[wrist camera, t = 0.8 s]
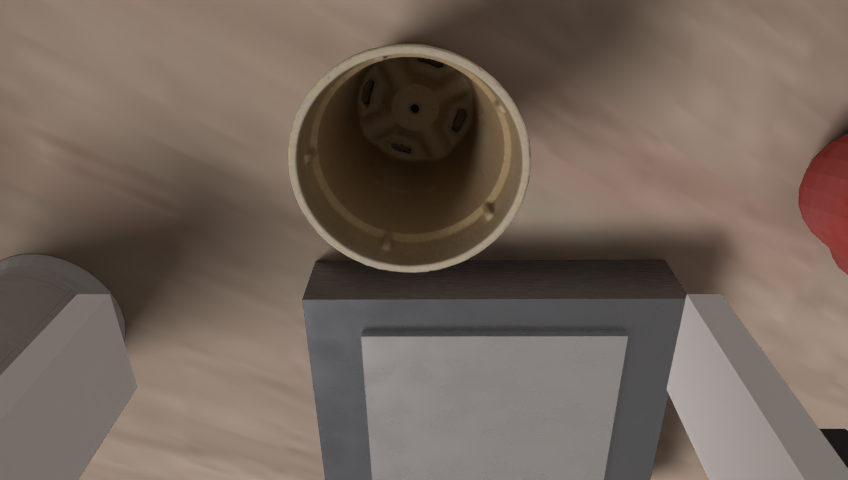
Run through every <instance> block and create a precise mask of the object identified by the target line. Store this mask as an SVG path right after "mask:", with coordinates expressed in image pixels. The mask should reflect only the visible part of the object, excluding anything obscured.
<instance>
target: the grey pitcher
mask: <svg viewBox="0 0 848 480" xmlns="http://www.w3.org/2000/svg"><path fill="white" fill-rule="evenodd" d="M77 294H110V297H111V300H112V303H113V307H114V310H115V313H116V317H117V320H118V323H119V327H120V330H121V334H122V337H123V340H124V339H125V331H126V330H125V320H124V317H123V314H122V310H121V308H120V306H119V304H118V303H117V301H116V299H115V298H114V296H113V295H112V294H111V292H110V291H109V290H108V289H107V288H106V287H105V286H104V285H103V284H102V283H101V282H100V281H99V280H98V279H97V278H96V277H94V276H93V275H92V274H90V273H89V272H88V271H86V270H84V269H82V268H81V267H79V266H77V265H75V264H73V263H70V262H68V261H66V260H63V259H60V258H56V257H52V256H48V255H40V254H22V255H17V256H12V257H9V258H6V259H4V260H1V261H0V375H1V374H2V373H3V372H4V371H5V370H6V369H7V368H8V367H9V366H10V365H11V364H12V362H13V361H14V360H15V359H16V358H17V357H18V356H19V355H20V354H21V353H22V352H23V351H24V350H25V349H26V348H27V347H28V346H29V344H30V343H31V342H32V341H33V340H34V339H35V338H36V337H37V336H38V335H39V334H40V333H41V332H42V331H43V330H44V329H45V328H46V327H47V325H48V324H49V323H50V322H51V321H52V320H53V319H54V318H55V317H56V316H57V315H58V314H59V313H60V312H61V311H62V310H63V309H64V308H65V306H66V305H67V304H68V303H69V302H70V301H71V300H72V299H73V298H74V297H75V296H76V295H77Z"/></svg>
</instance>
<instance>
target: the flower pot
mask: <svg viewBox="0 0 848 480" xmlns="http://www.w3.org/2000/svg"><path fill="white" fill-rule="evenodd" d="M418 57H421V58H427V59H432V60H436V61H439V62H442V63H443V66H442V67H440V68H436V67H434V66H433V65H430V64H428V63H423V62H420V61H418ZM370 80H372V81H374V86H373V89H372V93H371V97H370V102H369V104H364V103H363V98H362V93H363V90H364V86H365V84H366V83H367V82H368V81H370ZM414 104H416V105H418V107H419V111H418V112H416V113H414V112H413V111H412V110H411V106H412V105H414ZM458 109H463V110H465V111H466V114H467V115H466V118H465V120H464V122H463V124H462V125H461V128H460V129H459V130H458V131H457V132H455V131H454V130H453V129H452V125H453V123H454V120H455V118H456V116H457V113H458ZM392 143H395V144H398V145H402V144H404V146H405V147H408V148H411V153H406V152H402V151H398V150H396V149H394V148H393V147H392ZM288 166H289V175H290V180H291V184H292V188H293V191H294V194H295V197H296V199H297V202H298V204H299V206H300V208H301V209H302V211H303V213H304V215H305V216H306V218H307V219H308V221H309V222H310V224H311V225H312V226H313V227H314V229H315V230H316V231H317V232H318V233H319V235H321V237H322V238H323V239H325V240H326V241H327V242H328V243H329V244H330V245H331V246H333V247H334V248H335V249H336V250H338V251H340V252H341V253H343V254H344V255H346V256H347V257H350V258H352V259H354V260H356V261H358V262H361V263H363V264H364V265H367V266H372V267H374V268H377V269H382V270H388V271H397V272H413V273H415V272H428V271H433V270H439V269H443V268H446V267H450V266H451V265H455V264H458V263H461V262H463V261H465V260H467V259H469V258H470V257H473V256H474V255H476V254H478V253H480V252H481V251H482V250H484V249H485V248H486V247H488V246H489V245H490V244H491V243H493V242H494V241H495V240H496V239H497V238H498V237H499V236H500V235H501V234H502V233H503V232H504V231H505V229H506V228H507V227H508V226H509V224H510V223H511V221H512V220H513V219H514V217H515V216H516V214H517V212H518V210H519V208H520V206H521V204H522V202H523V199H524V197H525V193H526V190H527V186H528V183H529V177H530V169H531V152H530V142H529V137H528V134H527V129H526V126H525V123H524V121H523V118H522V116H521V114H520V112H519V110H518V108H517V106H516V104H515V103H514V101H513V99H512V98H511V97H510V95H509V94H508V93H507V91H506V90H505V89H504V88H503V87H502V86H501V84H500V83H499V82H498V81H497V80H496V79H495V78H494V77H493V76H491V75H490V74H489V73H488V72H487V71H485V70H484V69H483V68H481V67H480V66H479V65H477V64H475V63H474V62H472V61H470V60H469V59H467V58H465V57H463V56H461V55H459V54H456V53H454V52H451V51H448V50H446V49H442V48H437V47H433V46H430V45H424V44H393V45H387V46H381V47H377V48H373V49H369V50H366V51H363V52H361V53H358V54H356V55H353V56H351V57H350V58H348V59H346V60H344V61H343V62H341V63H340V64H338V65H337V66H335V67H334V68H332V69H331V70H330V71H329V72H328V73H326V74H325V75H324V76H323V77H322V78H321V79H320V80H319V81H318V82H317V83H316V84H315V85H314V86H313V88H312V89H311V90H310V91H309V93H308V94H307V96H306V97H305V99H304V100H303V102H302V104H301V106H300V108H299V110H298V112H297V115H296V117H295V120H294V123H293V126H292V129H291V135H290V139H289V147H288Z"/></svg>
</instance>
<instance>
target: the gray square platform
mask: <svg viewBox="0 0 848 480" xmlns="http://www.w3.org/2000/svg"><path fill="white" fill-rule="evenodd" d="M686 295H687V294H686V292H685V291H684V289H683V288H682V286H681V285H680V283H679V282H678V280H677V278H676V277H675V275H674V274H673V272H672V271H671V269H670V268H669V266H668V265H667V263H666V261H665V260H569V261H463V262H461V263H458V264H455V265H451V266H450V267H446V268H443V269H439V270H433V271H428V272H415V273H413V272H397V271H388V270H382V269H377V268H374V267H372V266H367V265H364V264H363V263H361V262H358V261H328V262H315V265H314V267H313V270H312V273H311V276H310V279H309V282H308V285H307V288H306V291H305V293H304V296H303V299H302V301H303V309H304V317H305V325H306V333H307V340H308V348H309V356H310V364H311V372H312V380H313V388H314V395H315V403H316V411H317V419H318V427H319V435H320V443H321V450H322V458H323V466H324V474H325V480H650V478H651V474H652V469H653V465H654V460H655V456H656V451H657V446H658V442H659V437H660V433H661V428H662V423H663V419H664V414H665V410H666V405H667V400H668V396H669V394H668V391H667V384H668V380H669V375H670V370H671V366H672V361H673V356H674V352H675V347H676V342H677V337H678V333H679V328H680V323H681V319H682V314H683V309H684V305H685V300H686Z"/></svg>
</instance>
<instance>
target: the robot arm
mask: <svg viewBox="0 0 848 480" xmlns="http://www.w3.org/2000/svg"><path fill="white" fill-rule="evenodd" d="M136 388H137V384H136V381H135V377H134V374H133V370H132V367H131V364H130V360H129V357H128V354H127V350H126V347H125V344H124V340H123V337H122V334H121V330H120V327H119V323H118V320H117V317H116V313H115V310H114V307H113V303H112V300H111V297H110V294H77V295H76V296H75V297H74V298H73V299H72V300H71V301H70V302H69V303H68V304H67V305H66V306H65V308H64V309H63V310H62V311H61V312H60V313H59V314H58V315H57V316H56V317H55V318H54V319H53V320H52V321H51V322H50V323H49V324H48V325H47V327H46V328H45V329H44V330H43V331H42V332H41V333H40V334H39V335H38V336H37V337H36V338H35V339H34V340H33V341H32V342H31V343H30V344H29V346H28V347H27V348H26V349H25V350H24V351H23V352H22V353H21V354H20V355H19V356H18V357H17V358H16V359H15V360H14V361H13V362H12V364H11V365H10V366H9V367H8V368H7V369H6V370H5V371H4V372H3V373H2V374H1V375H0V480H78V479H79V478H80V476H81V475H82V473H83V472H84V470H85V468H86V467H87V465H88V464H89V462H90V461H91V459H92V457H93V456H94V454H95V453H96V451H97V450H98V448H99V446H100V445H101V443H102V442H103V440H104V439H105V437H106V435H107V434H108V432H109V431H110V429H111V428H112V426H113V424H114V423H115V421H116V420H117V418H118V417H119V415H120V413H121V412H122V410H123V409H124V407H125V406H126V404H127V402H128V401H129V399H130V398H131V396H132V395H133V393H134V391H135V390H136ZM667 391H668V394H669V396H670V398H671V400H672V402H673V404H674V406H675V409H676V411H677V413H678V415H679V417H680V419H681V421H682V424H683V426H684V428H685V430H686V432H687V434H688V436H689V438H690V441H691V443H692V445H693V447H694V449H695V451H696V453H697V456H698V458H699V460H700V462H701V464H702V466H703V468H704V471H705V473H706V475H707V477H708V479H709V480H848V431H847V430H846V429H819V428H818V427H817V425H816V424H815V422H814V421H813V420H812V418H811V417H810V416H809V414H808V413H807V411H806V410H805V409H804V407H803V406H802V405H801V403H800V402H799V400H798V399H797V398H796V396H795V395H794V394H793V392H792V391H791V389H790V388H789V387H788V385H787V384H786V382H785V381H784V380H783V378H782V377H781V376H780V374H779V373H778V371H777V370H776V369H775V367H774V366H773V365H772V363H771V362H770V360H769V359H768V358H767V356H766V355H765V354H764V352H763V351H762V349H761V348H760V347H759V345H758V344H757V343H756V341H755V340H754V338H753V337H752V336H751V334H750V333H749V331H748V330H747V329H746V327H745V326H744V325H743V323H742V322H741V320H740V319H739V318H738V316H737V315H736V314H735V312H734V311H733V309H732V308H731V307H730V305H729V304H728V303H727V301H726V300H725V298H724V297H723V296H722V294H687V295H686V300H685V305H684V309H683V314H682V319H681V323H680V328H679V333H678V337H677V342H676V347H675V352H674V356H673V361H672V366H671V370H670V375H669V380H668V384H667Z"/></svg>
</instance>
